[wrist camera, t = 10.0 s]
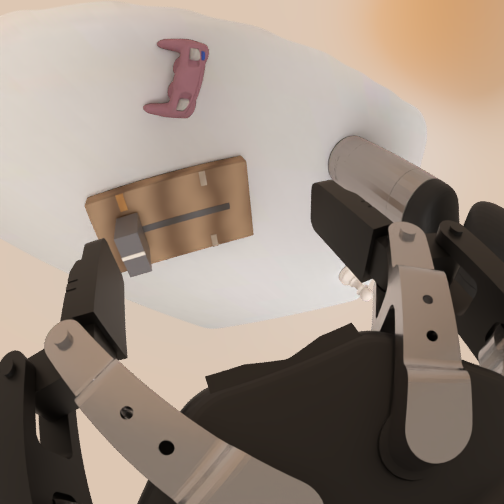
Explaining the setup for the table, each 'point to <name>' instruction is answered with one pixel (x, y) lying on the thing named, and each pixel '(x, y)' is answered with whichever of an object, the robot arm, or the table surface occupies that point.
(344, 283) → the chess pawn
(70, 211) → the table surface
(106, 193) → the fader base
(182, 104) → the video game controller
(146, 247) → the fader cap
